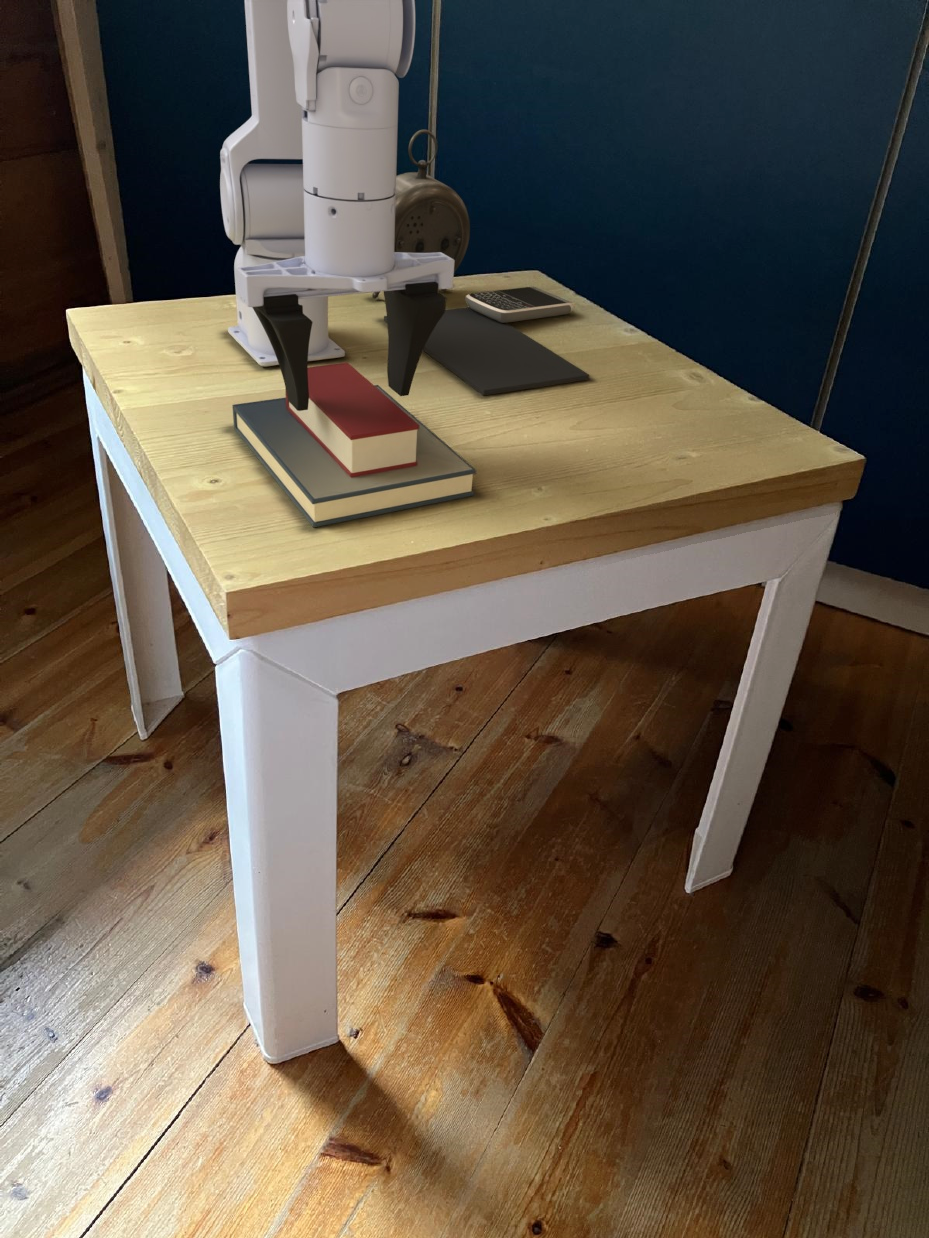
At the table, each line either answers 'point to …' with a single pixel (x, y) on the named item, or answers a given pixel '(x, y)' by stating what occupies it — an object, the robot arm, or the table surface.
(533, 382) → the mat
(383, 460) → the top book
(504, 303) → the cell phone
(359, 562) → the table surface
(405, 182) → the alarm clock
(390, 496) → the bottom book
